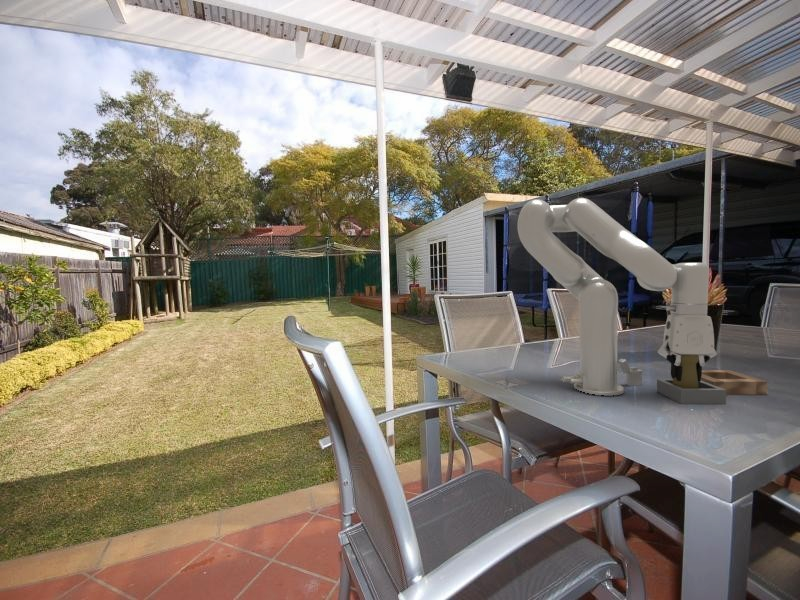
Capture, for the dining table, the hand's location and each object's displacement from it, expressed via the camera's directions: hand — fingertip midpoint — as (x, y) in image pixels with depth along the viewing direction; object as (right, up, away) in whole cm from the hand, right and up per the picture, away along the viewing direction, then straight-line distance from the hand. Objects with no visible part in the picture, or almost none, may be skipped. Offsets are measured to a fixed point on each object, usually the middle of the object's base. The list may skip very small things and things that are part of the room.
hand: (685, 379), depth 99 cm
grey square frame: (+1, -5, 0) cm, 5 cm away
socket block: (+16, -4, +7) cm, 18 cm away
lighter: (-7, -5, +13) cm, 15 cm away
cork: (0, -4, 0) cm, 4 cm away
